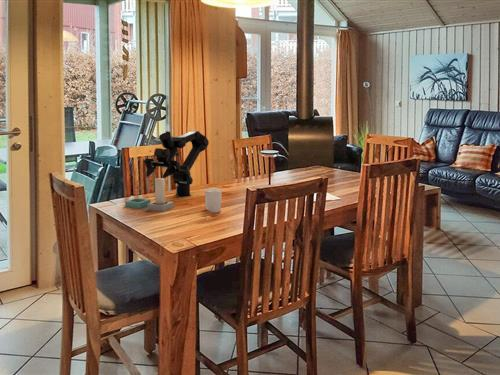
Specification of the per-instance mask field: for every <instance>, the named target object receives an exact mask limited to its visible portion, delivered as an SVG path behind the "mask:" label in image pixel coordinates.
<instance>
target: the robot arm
mask: <svg viewBox="0 0 500 375" xmlns="http://www.w3.org/2000/svg"><path fill="white" fill-rule="evenodd" d="M158 139H159V142H160V143H161V146H162V147H163V148H159V147H156V148H155V149H154V152H153V156H155V159H156V161H155V160H154V158H147V157H146V158H145V159H144V160H143V163H144V166H145V167H146V174H145V177H146V178H149V177H150V176H151V175H152V174H153V173H154V172H155V170H156V168H157V167H160V168H163V169H165V171H164V173H163V174H162V176H161V178H164V179H166V178H168V177H170V176H172V180H173V184H176V186H175V194H176V195H177V196H178V197H188V196H192V195H191V188H190V187H191V185H192V184H193V181H194V179H193V177H192V176H191V175H192V174H191V169H192V168H193V166H194V163H195V162H196V160H197V158H198V156H199V155H200V153H202V152H204V151H205V150H207V148H208V146H209V140H208V138H207V137H206V136H205V135H204V134H202V133H201V132H200V131H199V130H190V131H189V132H186V133H184V134H181V135H177V136H175V135H174V136H172V135H171V131H168V130H167V131H165V132H163V133H161V134H159V136H158ZM190 142H191V146H192V147H191V149H190V150H189V152H188V154H187V156H186V158H185V159H184V161H183V163H182V164H181V165H180V163H179V160H174V159H175V157H178V156H180V153H179V149H183V148H185V147H186V146H187V145H186V144H187V143H190Z"/></svg>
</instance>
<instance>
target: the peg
mask: <svg viewBox="0 0 500 375" xmlns="http://www.w3.org/2000/svg"><path fill="white" fill-rule="evenodd" d="M165 180H166V178H162V177H157V178H155V179H154V189H155V190H154V192H155V198H154V199H155V201H156V204H157V205H164V204H165V201H166V188H165V187H166V184H165V182H166V181H165Z"/></svg>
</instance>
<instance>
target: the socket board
mask: <svg viewBox="0 0 500 375" xmlns="http://www.w3.org/2000/svg"><path fill="white" fill-rule="evenodd" d="M124 203H125V204H124V206H123V208H127V209H135V210H143V211H151V212H156V213H157V212H158V213H164V212H167V211H168V210H169V211H170V210H171V209H173V208H175V206H174V202H173V201H166V200H165V204H164V205H157V204H156V200H155V201H152V202H151V199H149V198H140V197H135V198H134V197H133V198H132V199H128V200H125V201H124Z"/></svg>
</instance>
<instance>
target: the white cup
mask: <svg viewBox="0 0 500 375" xmlns="http://www.w3.org/2000/svg"><path fill="white" fill-rule="evenodd" d="M222 190H223V189H221V188H216V187H215V188H207V189H206V188H205V189H204V199H205V200H204V202H205V209H206V211H208V212H210V213H212V214H213V213H221V208H222V192H223V191H222Z"/></svg>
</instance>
